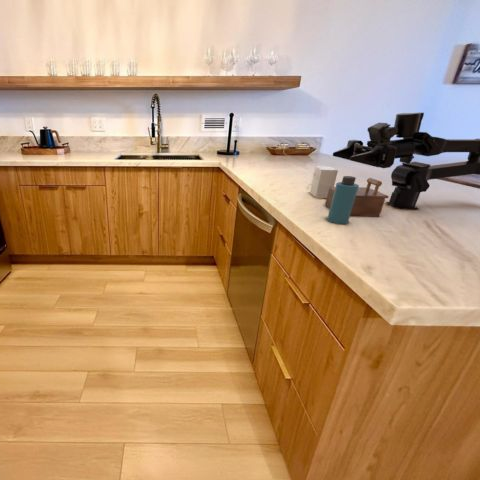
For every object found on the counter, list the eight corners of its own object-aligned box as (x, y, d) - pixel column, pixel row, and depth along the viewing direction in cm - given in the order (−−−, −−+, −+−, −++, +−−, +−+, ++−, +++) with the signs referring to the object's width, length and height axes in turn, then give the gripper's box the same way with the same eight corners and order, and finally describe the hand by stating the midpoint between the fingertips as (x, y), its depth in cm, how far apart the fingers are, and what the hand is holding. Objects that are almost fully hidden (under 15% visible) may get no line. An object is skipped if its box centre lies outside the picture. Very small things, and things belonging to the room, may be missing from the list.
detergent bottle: (342, 217, 87) (354, 175, 82) (351, 224, 82) (365, 179, 77) (323, 217, 88) (334, 174, 82) (332, 223, 83) (344, 179, 77)
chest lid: (367, 189, 95) (371, 175, 94) (388, 198, 86) (393, 183, 84) (329, 188, 96) (332, 175, 94) (345, 197, 87) (349, 182, 85)
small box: (331, 198, 106) (338, 170, 101) (314, 198, 107) (321, 169, 102) (324, 193, 113) (331, 166, 109) (309, 192, 114) (315, 165, 110)
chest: (359, 206, 98) (364, 189, 96) (379, 216, 88) (385, 198, 86) (324, 205, 99) (328, 188, 96) (340, 215, 89) (345, 197, 87)
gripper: (375, 121, 95) (327, 127, 96) (423, 123, 78) (365, 131, 79) (369, 155, 100) (324, 161, 100) (413, 164, 83) (359, 172, 83)
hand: (341, 156), depth 90 cm, fingers open, 9 cm apart
